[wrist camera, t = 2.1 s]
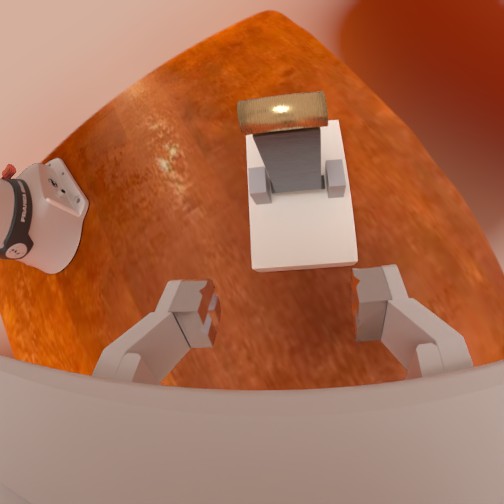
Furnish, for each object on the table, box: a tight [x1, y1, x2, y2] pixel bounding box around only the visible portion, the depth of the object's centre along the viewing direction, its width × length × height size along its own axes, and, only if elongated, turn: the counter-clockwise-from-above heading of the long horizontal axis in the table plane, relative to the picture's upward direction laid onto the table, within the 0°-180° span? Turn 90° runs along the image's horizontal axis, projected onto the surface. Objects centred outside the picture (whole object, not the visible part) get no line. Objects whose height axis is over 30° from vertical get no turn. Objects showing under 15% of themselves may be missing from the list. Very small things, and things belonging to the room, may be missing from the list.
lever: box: [237, 91, 328, 194], centre depth 28 cm, size 3×6×17 cm, turn 92°
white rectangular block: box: [246, 120, 358, 272], centre depth 37 cm, size 18×12×9 cm, turn 3°
